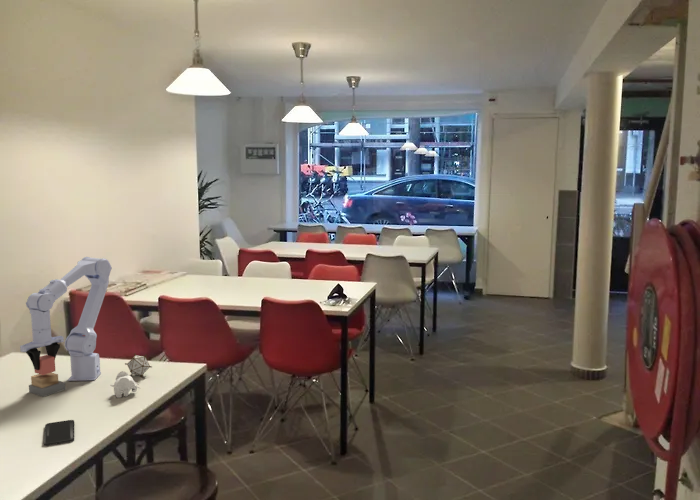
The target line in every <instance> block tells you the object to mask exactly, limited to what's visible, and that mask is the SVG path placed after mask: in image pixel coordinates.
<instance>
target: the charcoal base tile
mask: <svg viewBox="0 0 700 500" xmlns="http://www.w3.org/2000/svg"><path fill="white" fill-rule="evenodd" d="M58 382H59V383H57V384H53V385H50V386H47V387H44V388H40V387H37V386H34V385H32V383H31V384H28V392H29V393H30V394H34V395H37V396H40V397H46V396H49V395H53V394H56V393H58V392H61V391H65V390H66V385H65V384H66V382H64V381H61V380H58Z"/></svg>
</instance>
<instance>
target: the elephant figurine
mask: <svg viewBox="0 0 700 500" xmlns="http://www.w3.org/2000/svg"><path fill="white" fill-rule="evenodd" d="M109 386H110V387H113V393H114V395H115V397H116V398H122V396H123V397H125V398H126V397H129V393H130V391H131V392H132V393H136V392H137V390H138V389H140V387H139V386H140V384H139V383H137V382H136V381H135V380H134V378H133V377H132V376H131V375H129V374H128V372H126V371H123V370H121V371H120V372H118V374H117V375H116V377H115V381H114V384H109Z"/></svg>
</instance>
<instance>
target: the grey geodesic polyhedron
mask: <svg viewBox="0 0 700 500" xmlns="http://www.w3.org/2000/svg"><path fill="white" fill-rule="evenodd" d="M124 365H125V366H126V365H127V367H128V370H129V373H130V376H131V377H132V376H134V375H135V376H139V377H140V378H143V375H144V374H145V373H146V372H147V371H148V370H149V369H150V368H151V369H152V368H153V366H152V365H151V366H150V363H149V361H148V359H147V354H145V355H137V354H136V353H134V356H133V357H131V359H130V360H129V361H128V362H127V363H126V362H125V363H124Z"/></svg>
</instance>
